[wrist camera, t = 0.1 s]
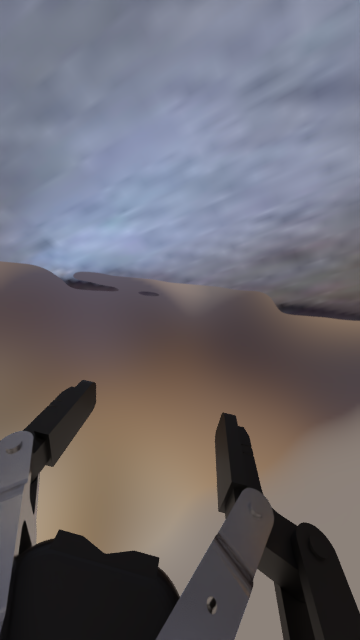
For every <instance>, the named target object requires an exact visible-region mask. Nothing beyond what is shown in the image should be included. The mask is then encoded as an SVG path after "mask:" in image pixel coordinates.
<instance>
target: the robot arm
mask: <svg viewBox="0 0 360 640" xmlns="http://www.w3.org/2000/svg"><path fill="white" fill-rule="evenodd" d="M95 403H96V383H95V382H90V381H86V380H82V381H81V382H80V383H79V384H78V385H77V386H76V387H70V388H68V389H66V390H65V391H63V392H62V393H61V394H60V395H59V396H58V397H57V398H56V399H55V400H53V402H51V403H50V405H49V406H47V408H46V409H45V410H43V411H42V412H41V413H40V415H38V416H37V417H36V418H35V419H34V420H33V421H32V422H31V424H30V425H28V426H27V427H26V428H25V429H24V430H23V431H19V432H15V433H13V434H10V435H8V436H7V437H5V438H4V439H2V440H1V441H0V640H234V639H235V636H236V633H237V630H238V628H239V625H240V622H241V619H242V616H243V614H244V611H245V608H246V606H247V603H248V600H249V597H250V594H251V591H252V588H253V578H254V575H255V572H256V570H257V569H259V570H260V571H261V572H262V573H264V574H265V575H266V576H268V577H269V578H270V579H272V580H273V581H274V585H275V591H276V597H277V603H278V608H279V615H280V621H281V627H282V633H283V638H284V640H360V613H359V610H358V608H357V605H356V603H355V600H354V598H353V595H352V592H351V590H350V587H349V585H348V582H347V580H346V577H345V575H344V572H343V569H342V567H341V565H340V562H339V559H338V557H337V554H336V552H335V550H334V548H333V546H332V544H331V543H330V541H329V540H328V539H327V538H326V536H325V535H324V534H323V533H322V532H321V531H320V530H319V529H318V528H316V527H315V526H313V525H312V524H309V523H301V524H299V525H298V526H296V525H295V524H293V523H292V522H290V521H289V520H287V519H286V518H284V517H283V516H281V515H280V514H278V513H277V512H276V511H275V510H274V509H273V508H272V507H271V505H270V503H269V502H268V500H267V499H266V497H265V496H264V495H263V492H262V489H261V486H260V481H259V477H258V472H257V468H256V464H255V460H254V457H253V451H252V448H251V443H250V438H249V435H248V434H247V432H246V430H245V429H244V427H240V426H238V424H237V419H236V416H235V415H231V414H227V413H222V415H221V418H220V421H219V424H218V427H217V430H216V435H215V449H216V471H217V491H218V511H219V512H223V513H225V516H226V520H225V522H224V524H223V525H222V527H221V529H220V531H219V532H218V534H217V535H216V536H215V538H214V540H213V541H212V543H211V545H210V546H209V548H208V550H207V552H206V553H205V555H204V557H203V559H202V560H201V562H200V564H199V566H198V567H197V569H196V571H195V572H194V574H193V576H192V578H191V579H190V581H189V583H188V585H187V586H186V588H185V590H184V592H183V593H182V595H181V597H180V596H179V594H178V592H177V590H176V588H175V586H174V584H173V583H172V581H171V580H170V578H169V577H168V576H167V575H166V574H165V572H164V571H163V570H161V569H160V568H159V567H158V563H159V558H158V557H155V556H151V555H148V554H144V553H141V552H137V551H127V552H120V553H110V554H105V553H103V552H102V551H100V550H99V549H98V548H97V547H96V546H94V545H93V544H92V543H91V542H90V541H88V540H87V539H86V538H85V537H83V536H81V535H77V534H73V533H70V532H66V531H63V530H59V531H58V533H57V535H56V537H55V539H50V540H46V541H43V542H41V543H38V544H36V514H37V502H38V491H39V479H40V471H41V470H42V469H43V468H44V466H45V465H48V466H51V467H53V466H54V465H55V463H56V462H57V461H58V459H59V458H60V456H61V455H62V454H63V452H64V451H65V449H66V448H67V446H68V445H69V444H70V442H71V441H72V439H73V438H74V436H75V435H76V434H77V432H78V431H79V429H80V428H81V427H82V425H83V424H84V422H85V421H86V419H87V418H88V417H89V415H90V413H91V412H92V411H93V409H94V406H95Z"/></svg>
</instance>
